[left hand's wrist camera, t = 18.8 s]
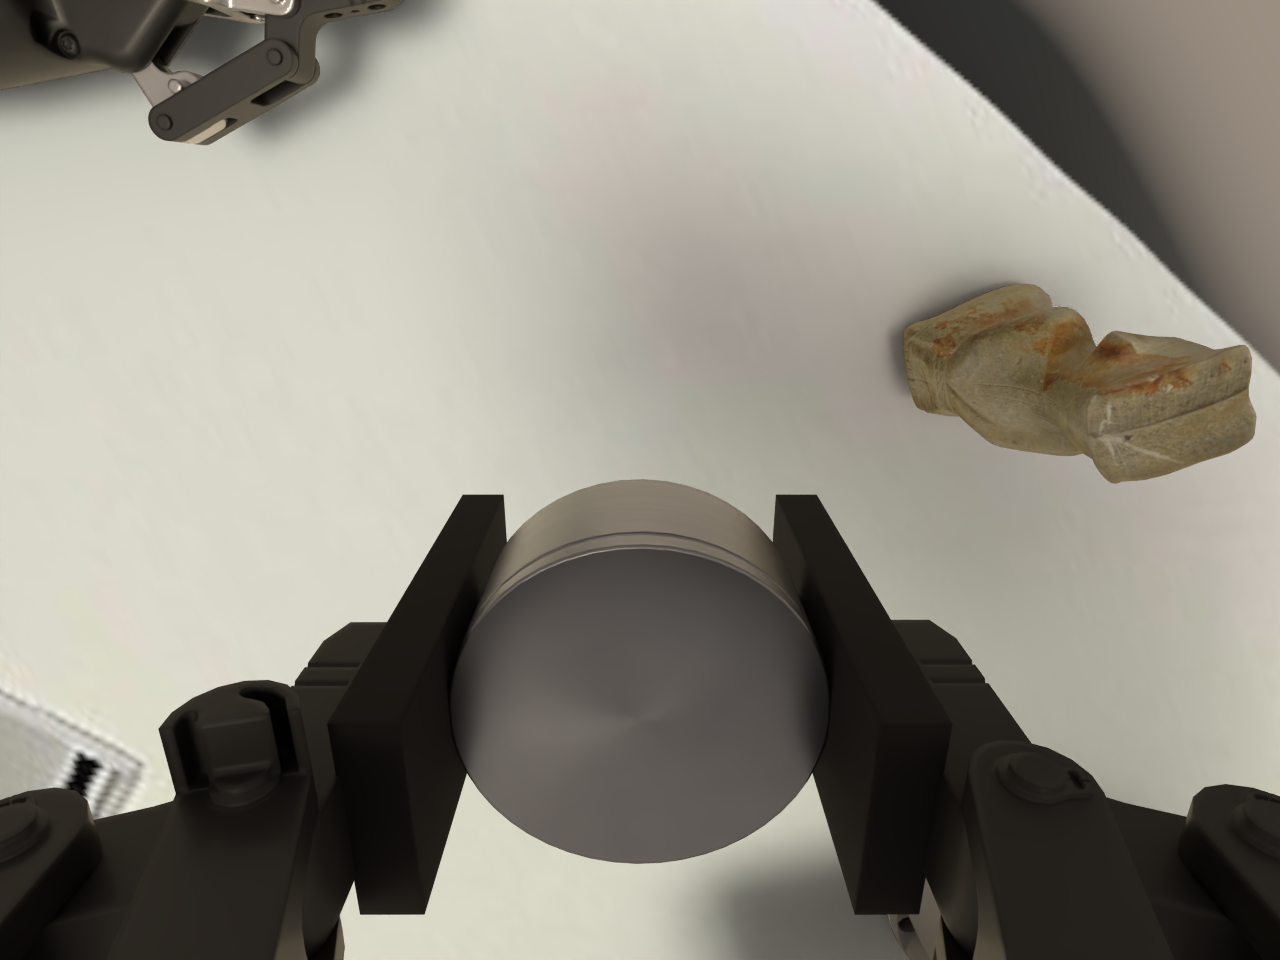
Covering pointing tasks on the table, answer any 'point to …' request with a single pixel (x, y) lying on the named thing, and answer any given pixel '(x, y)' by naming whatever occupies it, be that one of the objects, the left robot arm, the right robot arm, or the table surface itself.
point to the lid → (639, 676)
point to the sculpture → (1079, 385)
